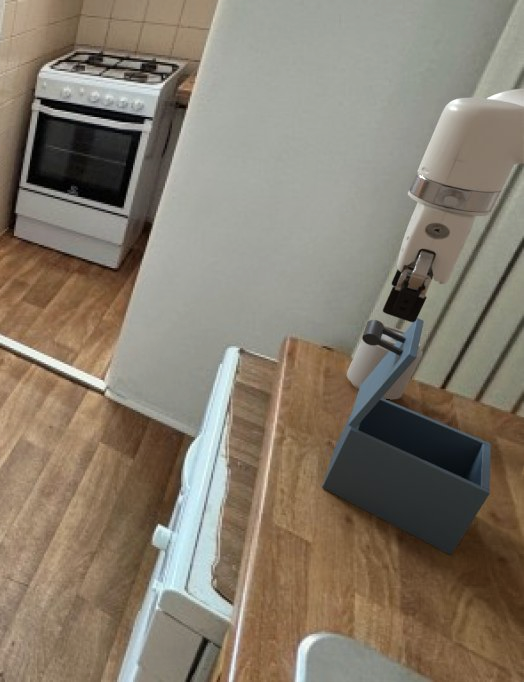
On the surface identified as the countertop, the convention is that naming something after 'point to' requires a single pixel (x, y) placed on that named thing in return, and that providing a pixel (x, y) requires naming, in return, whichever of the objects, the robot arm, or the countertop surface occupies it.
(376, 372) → the lid
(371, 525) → the countertop surface
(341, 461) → the compartment
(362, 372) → the can
